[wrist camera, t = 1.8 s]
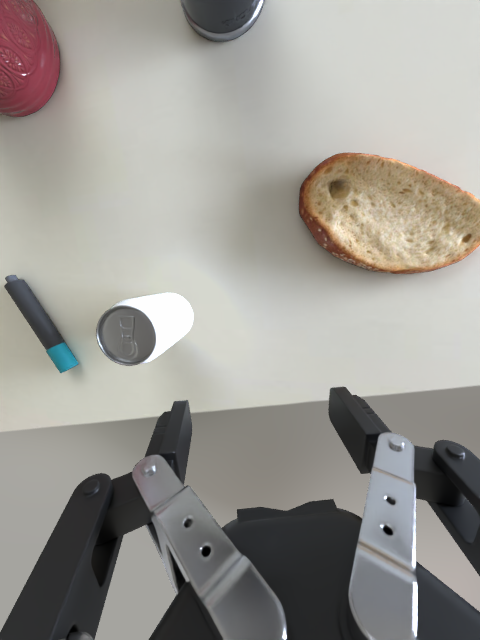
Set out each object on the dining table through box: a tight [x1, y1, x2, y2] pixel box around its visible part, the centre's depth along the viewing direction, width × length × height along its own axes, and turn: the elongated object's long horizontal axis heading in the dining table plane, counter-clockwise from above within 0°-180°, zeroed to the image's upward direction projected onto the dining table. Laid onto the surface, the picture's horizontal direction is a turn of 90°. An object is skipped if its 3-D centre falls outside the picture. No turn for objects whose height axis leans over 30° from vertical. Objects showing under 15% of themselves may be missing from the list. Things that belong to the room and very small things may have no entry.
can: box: [96, 293, 193, 366], centre depth 29 cm, size 6×6×12 cm
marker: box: [4, 275, 78, 373], centre depth 35 cm, size 15×2×2 cm, turn 29°
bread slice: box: [299, 153, 480, 274], centre depth 29 cm, size 18×18×4 cm
